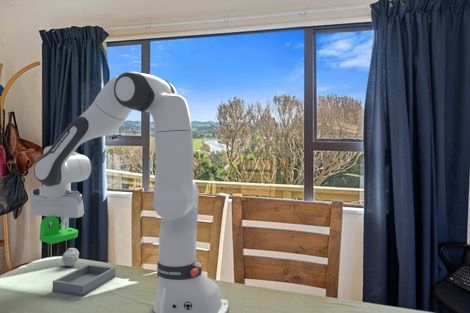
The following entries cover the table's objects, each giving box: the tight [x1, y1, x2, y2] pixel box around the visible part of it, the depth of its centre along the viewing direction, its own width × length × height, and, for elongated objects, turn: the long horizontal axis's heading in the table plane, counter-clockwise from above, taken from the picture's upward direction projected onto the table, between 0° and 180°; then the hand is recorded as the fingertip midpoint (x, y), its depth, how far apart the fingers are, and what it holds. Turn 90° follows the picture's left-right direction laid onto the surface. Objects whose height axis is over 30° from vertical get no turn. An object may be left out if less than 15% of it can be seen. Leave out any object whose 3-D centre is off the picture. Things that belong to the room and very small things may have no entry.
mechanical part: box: [39, 216, 79, 245], centre depth 122 cm, size 12×6×8 cm, turn 154°
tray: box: [52, 263, 116, 297], centre depth 120 cm, size 12×17×4 cm
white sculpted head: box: [61, 247, 80, 267], centre depth 137 cm, size 6×7×7 cm
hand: (57, 228), depth 123 cm, fingers closed on mechanical part, 2 cm apart
